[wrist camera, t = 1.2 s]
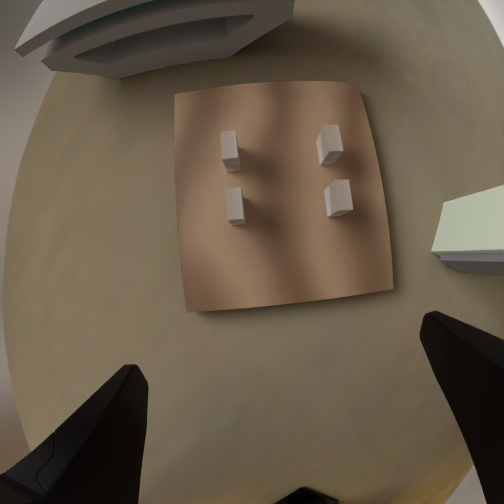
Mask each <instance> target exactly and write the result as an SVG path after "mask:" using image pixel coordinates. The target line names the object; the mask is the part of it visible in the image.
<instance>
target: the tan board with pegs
mask: <svg viewBox="0 0 504 504" xmlns="http://www.w3.org/2000/svg"><path fill="white" fill-rule="evenodd" d="M174 147H175V182H176V203H177V219H178V233H179V246H180V257H181V267H182V277H183V286H184V295H185V303H186V311H187V312H200V311H215V310H228V309H240V308H252V307H262V306H272V305H282V304H291V303H300V302H308V301H316V300H324V299H332V298H339V297H346V296H353V295H360V294H367V293H373V292H379V291H385V290H391V289H393V270H392V256H391V245H390V235H389V227H388V219H387V211H386V204H385V198H384V191H383V186H382V180H381V175H380V169H379V164H378V159H377V155H376V150H375V146H374V141H373V137H372V133H371V129H370V125H369V121H368V117H367V114H366V110H365V107H364V103H363V100H362V97H361V93H360V90H359V87H358V84H357V83H352V82H334V81H279V82H261V83H248V84H238V85H229V86H221V87H213V88H207V89H200V90H194V91H189V92H183V93H178V94H175V105H174Z"/></svg>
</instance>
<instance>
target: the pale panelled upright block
mask: <svg viewBox="0 0 504 504" xmlns="http://www.w3.org/2000/svg"><path fill="white" fill-rule="evenodd" d="M431 252H433V253H435V254H436V255H438V256H440V257H441V258H440V261H442V262H443V263H445V264H447V265H448V266H450V267H452V268H453V269H455V270H456V271H458V272H465V273H478V274H491V275H504V185H502V186H499V187H495V188H492V189H488V190H485V191H482V192H478V193H475V194H471V195H468V196H465V197H461V198H458V199H454V200H451V201H448V202H444V204H443V209H442V213H441V217H440V221H439V225H438V229H437V233H436V236H435V240H434V243H433V247H432V250H431Z"/></svg>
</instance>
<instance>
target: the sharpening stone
mask: <svg viewBox="0 0 504 504" xmlns="http://www.w3.org/2000/svg"><path fill="white" fill-rule="evenodd" d="M293 8H294V0H44V1H43V2H42V3H41V5H40V6H39V8H38V9H37V11H36V12H35V14H34V16H33V17H32V19H31V20H30V22H29V24H28V25H27V27H26V29H25V31H24V32H23V34H22V36H21V38H20V40H19V42H18V43H17V45H16V48H15V51H16V52H18V53H19V54H20V55H21V56H22V57H24V56H25V55H27V54H28V53H30V52H32V51H33V50H35V49H37V48H38V47H40V46H42V45H43V44H45V43H47V42H48V44H47V47H46V49H45V51H44V53H43V56H42V58H41V62H42V63H44V64H45V65H46V66H47V67H48V68H49V69H50V70H51V71H62V72H73V73H83V74H91V75H98V76H105V77H111V78H117V79H121V78H124V77H128V76H131V75H135V74H139V73H143V72H147V71H151V70H155V69H160V68H165V67H169V66H175V65H180V64H186V63H192V62H198V61H205V60H213V59H221V58H229V57H230V56H232V55H233V54H235V53H236V52H238V51H239V50H240V49H242V48H243V47H245V46H246V45H248V44H250V43H251V42H253V41H254V40H256V39H257V38H259V37H261V36H262V35H264V34H265V33H267V32H269V31H270V30H272V29H274V28H276V27H277V26H279V25H281V24H283V23H284V22H286V21H288V20H290V19H292V15H293Z"/></svg>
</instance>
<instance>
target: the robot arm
mask: <svg viewBox="0 0 504 504" xmlns="http://www.w3.org/2000/svg"><path fill="white" fill-rule="evenodd" d="M420 340H421V343H422V345H423V347H424V350H425V352H426V355H427V357H428V360H429V362H430V365H431V367H432V370H433V372H434V375H435V377H436V379H437V381H438V383H439V385H440V387H441V389H442V391H443V393H444V395H445V397H446V399H447V401H448V403H449V406H450V408H451V410H452V412H453V414H454V416H455V419H456V421H457V423H458V425H459V428H460V430H461V432H462V435H463V437H464V439H465V442H466V444H467V447H468V449H469V452H470V455H471V457H472V460H473V463H474V465H475V468H476V470H477V474H478V477H479V480H480V483H481V486H482V489H483V493H484V496H485V499H486V503H487V504H504V340H503V339H501V338H499V337H496V336H494V335H492V334H489V333H487V332H485V331H483V330H480V329H478V328H476V327H473V326H471V325H469V324H466V323H464V322H462V321H459V320H457V319H455V318H452V317H450V316H448V315H445V314H443V313H441V312H438V311H432V312H429V313H426V314H425V315H424V317H423V321H422V326H421V330H420ZM147 408H148V382H147V380H146V379H145V377H144V375H143V373H142V372H141V370H140V368H139V367H138V366H137V365H135V364H127V365H124V366H122V367H121V368H120V369H119V370H118V371H117V372H116V373H115V374H114V375H113V376H112V377H111V378H110V379H109V380H108V381H107V382H106V383H104V384H103V385H102V386H101V387H100V388H99V389H98V390H97V391H96V392H95V393H94V394H93V395H92V396H91V397H90V398H89V399H88V400H87V401H85V402H84V403H83V404H82V405H81V406H80V407H79V408H78V409H77V410H76V411H75V412H74V413H73V414H72V415H71V416H70V417H69V418H68V419H67V420H65V421H64V422H63V423H62V424H61V425H60V426H59V427H58V428H57V429H56V430H55V433H54V432H53V433H52V434H51V435H50V436H49V437H48V438H47V439H45V440H44V441H43V442H42V443H41V444H40V445H39V446H38V447H37V448H35V449H34V450H33V451H32V452H31V453H29V454H28V455H27V456H26V457H24V458H23V459H22V460H20V461H19V462H18V463H17V464H16V465H14V466H13V467H11V468H10V469H9V470H7V471H6V472H4V473H3V474H0V504H138V499H139V487H140V477H141V468H142V460H143V452H144V444H145V437H146V429H147ZM275 504H339V502H338V500H335V499H333V498H330V497H327V496H325V495H322V494H319V493H317V492H314V491H312V490H309V489H307V488H304V487H302V488H299V489H297V490H296V491H294V492H293V493H291V494H290V495H288V496H286V497H285V498H283V499H281V500H280V501H278V502H276V503H275Z"/></svg>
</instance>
